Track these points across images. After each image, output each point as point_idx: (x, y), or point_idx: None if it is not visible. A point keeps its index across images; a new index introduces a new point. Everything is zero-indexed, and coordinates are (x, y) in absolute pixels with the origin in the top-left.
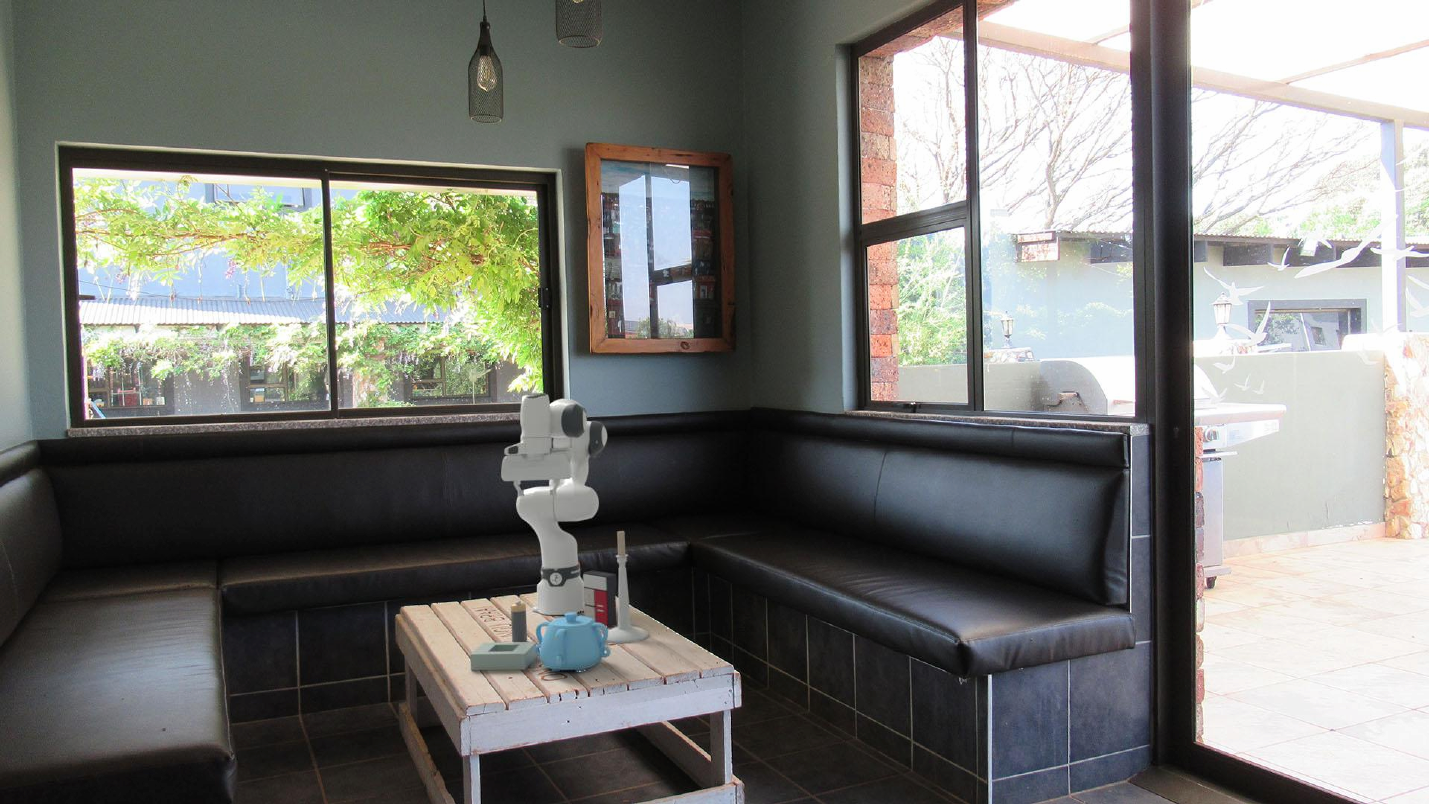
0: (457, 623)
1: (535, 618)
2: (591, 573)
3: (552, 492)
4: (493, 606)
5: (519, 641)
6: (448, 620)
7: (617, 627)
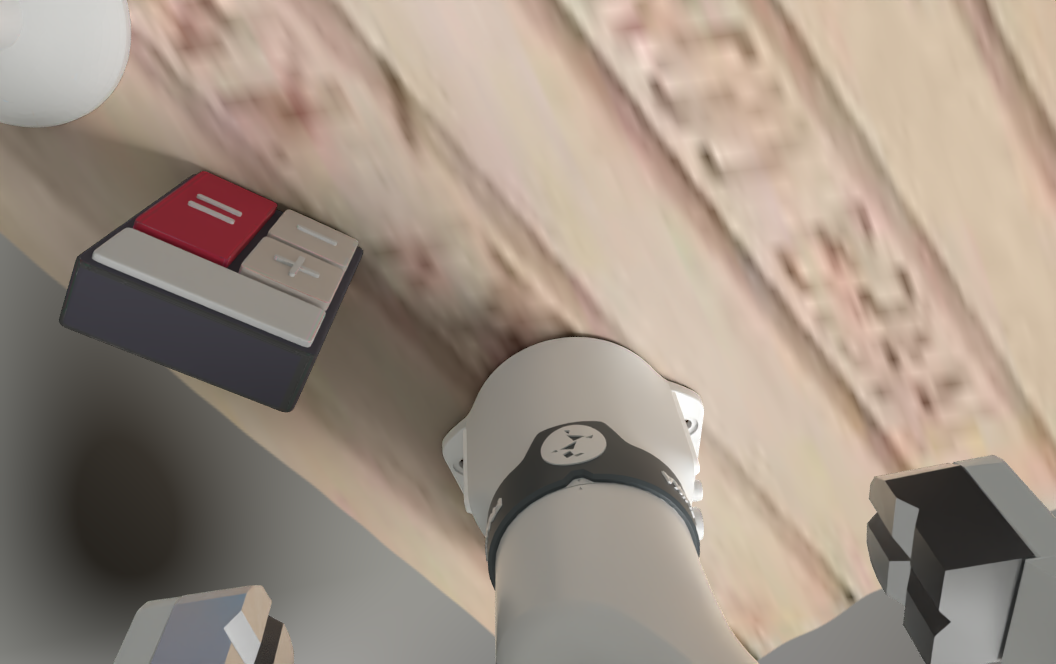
0: (987, 152)
1: (635, 286)
2: (237, 329)
3: (171, 640)
4: (907, 446)
5: None
6: (1049, 199)
7: (31, 20)
